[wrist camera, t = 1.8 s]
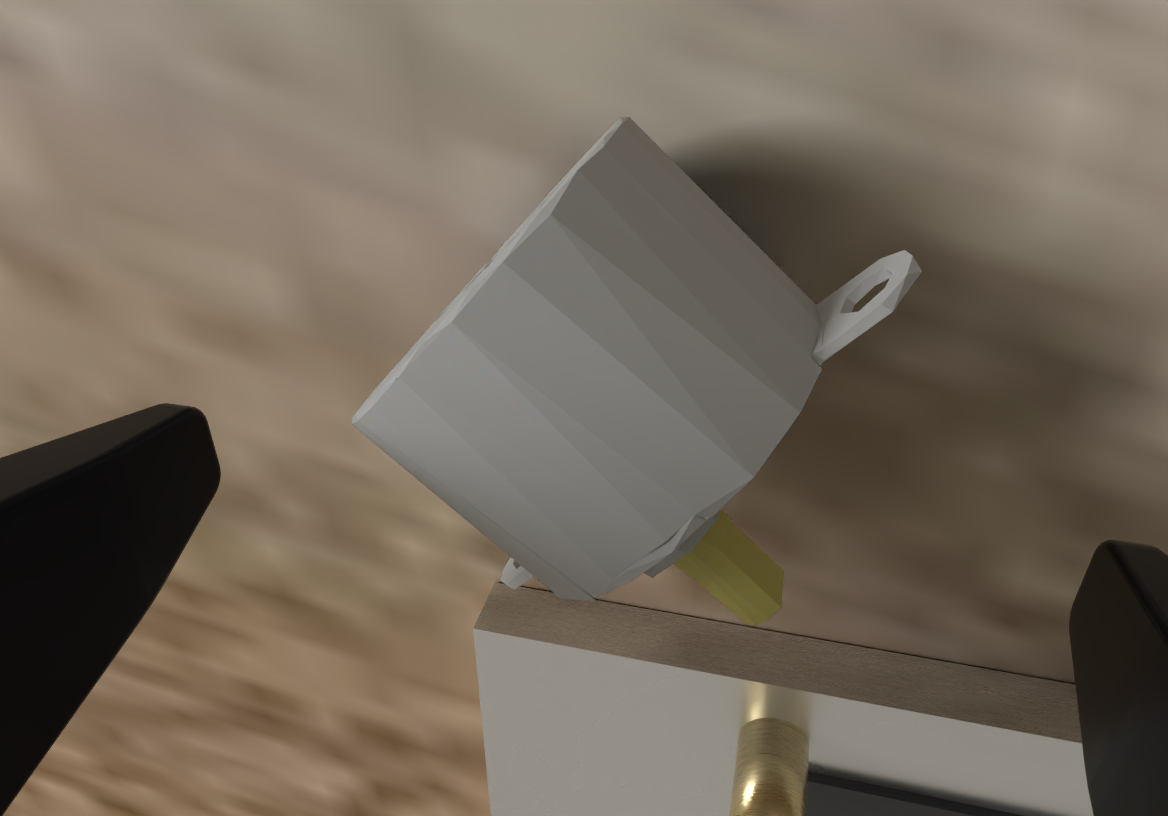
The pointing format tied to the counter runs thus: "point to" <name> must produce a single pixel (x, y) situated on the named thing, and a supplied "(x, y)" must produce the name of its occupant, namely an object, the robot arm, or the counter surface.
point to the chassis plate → (754, 722)
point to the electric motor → (619, 382)
